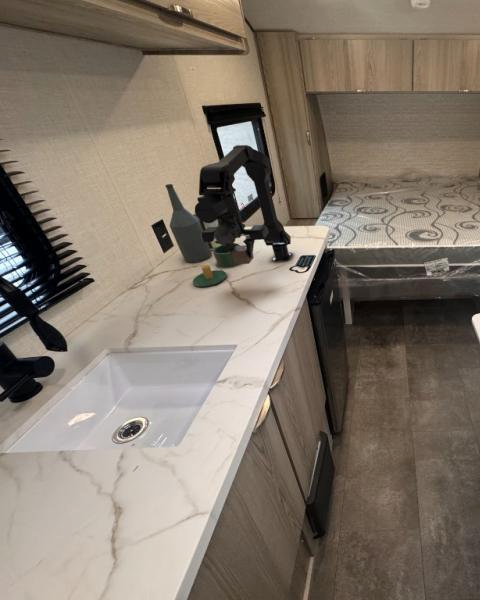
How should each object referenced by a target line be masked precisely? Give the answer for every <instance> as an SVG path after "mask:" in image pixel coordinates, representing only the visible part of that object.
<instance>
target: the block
mask: <svg viewBox="0 0 480 600" xmlns="http://www.w3.org/2000/svg"><path fill="white" fill-rule="evenodd" d="M231 254H232V257H233V260H234V262H235V264H240V265H249V264H250V263H252V261H253V259H254V254H253V255H252V258H250V257H249V255H248V251H247V247H246V244H245V245H244V244H243V245H242V244H241V246H235V248H234V249H233V250H232V251H231Z"/></svg>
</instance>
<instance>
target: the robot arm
mask: <svg viewBox="0 0 480 600" xmlns="http://www.w3.org/2000/svg"><path fill="white" fill-rule="evenodd" d="M271 165H272V164H271V160H270V158H269V157H268V156H267V155H266V154H265V153H264V152H262V151H259V150H257V149H254V148H253V147H252V146H251V145H249V144H236V145H234V146H233V147H232V149H231V150H230V151H229V152H228V153H227V154H225V156H223V157H222V158H221V159H220V160H219V161H217V162H214V163H209V164H207V165H204V166H202V167H201V169H200V170H199V182H198V183H199V184H198V195H199V197H197V203H196V204H195V205H194V214H196V216H197V217H198V218H199V219H200V220H201V221H203V222H205V223H212V222H214V221H216V220H217V219H218V220H217V221H218V226H217V227H208V228H207V229H205V230H204V231H203V232H202V233H201V238H202V241H203V242H212V241H213V240H214V239H215V240H216V242H215V243H216V244H221V245H223V246H224V247H225V248H226V249H227V250H228V251H229V252H230V254H231V251H232V250H233V249H234V248H235V245H234V243H236V239H241V237H245V239H243V243H244V244H245V245H246V247H247V251H248V255H249V257H250V258H252V255H253V256H254V247H255V245H254V244H255V242H256V241H260V240H261V241H262V240H263V242H264V243H265V245H266V246H267V247H268V246H270V247H271V248H272V251H273V258H272V259H271V260H272V262H278V261H279V262H280V261H281V262H282V261H289V260H290V258H291V257H292V255H293V252H289V248H288V246H289V245H291V244H292V243H291V241H292V239H291V238H292V237H291V235H290V234H289V233H288V232H286V230H285V227H284V225H283V223H282V222H281V221H280V220H279V219H278V215H277V212H276V208H275V204H274V198H273V194H272V191H271V186H270V182H269V179H270V176H271V173H272V170H271V167H272V166H271ZM242 167H243V168H244V170H245V174H246V175H247V176H248V178H250V180H251V181H252V182H253V183H254V187H255V191H256V195H257V200H258V204H259V207H260V211H261V215H262V219H263V224H254V225H253V226H252V227H251V228H246V224H245V223H244V222H243V220H242V216H241V215H242V211H241V210H239V208H238V204H237V201H236V198H235V195H234V193H235V192H237V189H236V188H235V187H234V186H233V184H234V183H235V181H236V178H235V174H236V173H237V172H238V171H239V170H240V169H241V168H242ZM245 228H246V229H245ZM214 237H215V238H214ZM231 255H232V254H231Z"/></svg>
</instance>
